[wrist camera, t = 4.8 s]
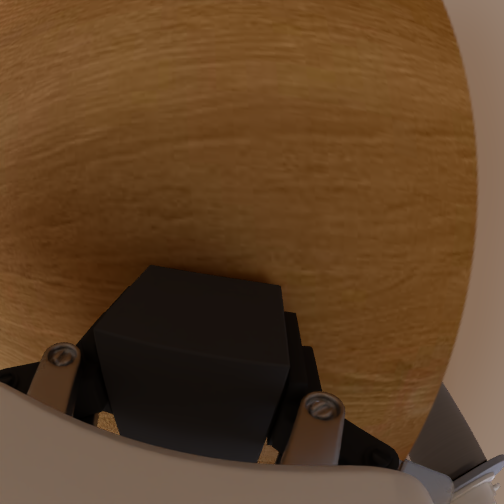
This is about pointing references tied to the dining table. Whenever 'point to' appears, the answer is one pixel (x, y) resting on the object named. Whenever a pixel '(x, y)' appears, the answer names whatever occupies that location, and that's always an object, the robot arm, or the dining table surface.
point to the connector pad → (195, 362)
